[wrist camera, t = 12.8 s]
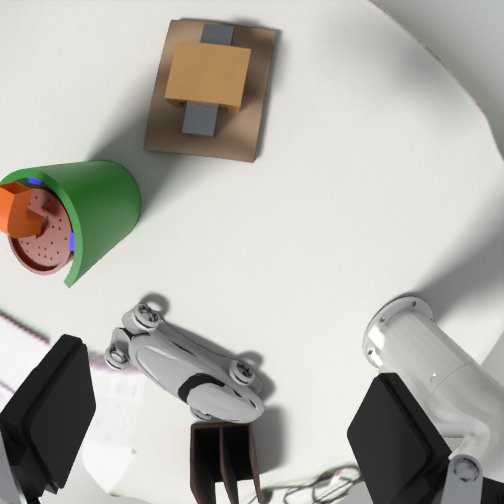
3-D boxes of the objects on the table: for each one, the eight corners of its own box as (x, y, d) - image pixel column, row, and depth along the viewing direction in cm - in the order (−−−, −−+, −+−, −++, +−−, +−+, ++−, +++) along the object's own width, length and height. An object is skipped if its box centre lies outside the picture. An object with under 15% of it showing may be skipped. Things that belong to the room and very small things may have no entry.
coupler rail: (214, 138, 30) (213, 135, 27) (186, 135, 30) (182, 132, 27) (233, 38, 27) (234, 26, 24) (206, 36, 27) (204, 23, 23)
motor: (63, 224, 33) (-45, 283, 14) (74, 154, 31) (-45, 162, 12) (134, 243, 35) (53, 328, 15) (149, 169, 32) (60, 182, 13)
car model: (137, 293, 37) (127, 311, 32) (280, 382, 43) (285, 404, 38) (102, 346, 39) (91, 366, 34) (235, 421, 45) (236, 443, 40)
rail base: (252, 162, 33) (253, 162, 32) (147, 150, 32) (143, 149, 30) (273, 36, 29) (275, 31, 27) (172, 24, 27) (171, 19, 26)
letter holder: (211, 478, 50) (212, 532, 36) (190, 422, 44) (185, 491, 30) (259, 474, 50) (266, 529, 37) (250, 418, 44) (259, 488, 31)
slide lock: (238, 113, 29) (240, 106, 25) (172, 106, 29) (164, 97, 24) (247, 63, 28) (251, 49, 24) (183, 55, 27) (177, 41, 23)
